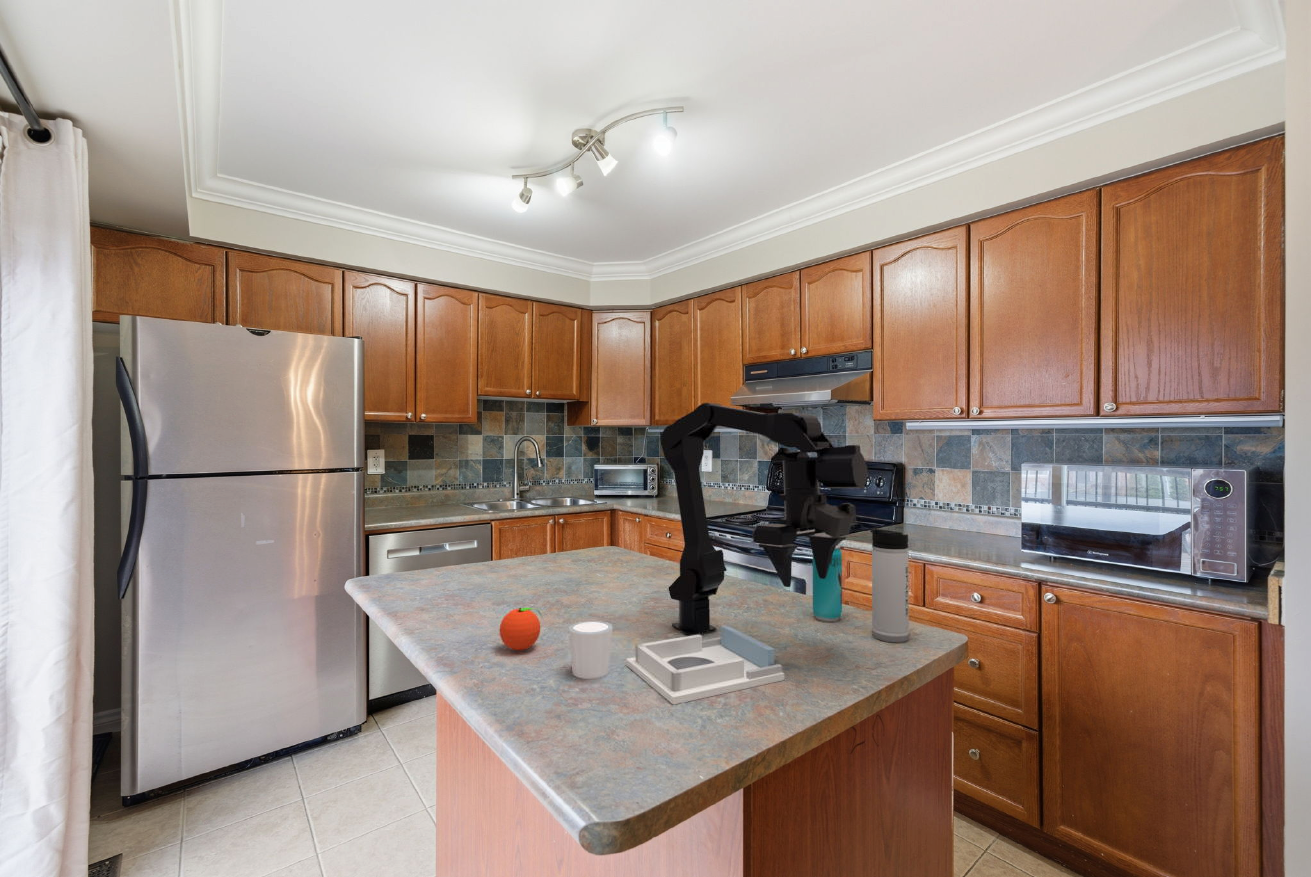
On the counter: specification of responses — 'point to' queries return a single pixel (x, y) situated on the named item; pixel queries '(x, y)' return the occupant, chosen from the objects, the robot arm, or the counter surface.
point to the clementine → (520, 629)
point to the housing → (697, 668)
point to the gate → (747, 647)
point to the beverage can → (828, 590)
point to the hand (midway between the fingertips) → (805, 582)
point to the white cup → (590, 648)
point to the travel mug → (890, 586)
